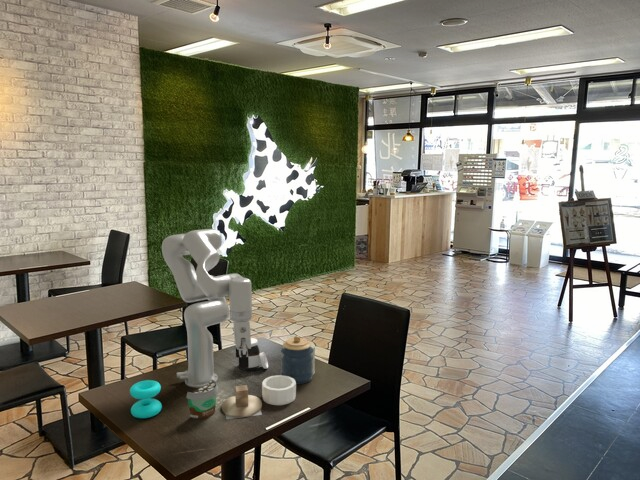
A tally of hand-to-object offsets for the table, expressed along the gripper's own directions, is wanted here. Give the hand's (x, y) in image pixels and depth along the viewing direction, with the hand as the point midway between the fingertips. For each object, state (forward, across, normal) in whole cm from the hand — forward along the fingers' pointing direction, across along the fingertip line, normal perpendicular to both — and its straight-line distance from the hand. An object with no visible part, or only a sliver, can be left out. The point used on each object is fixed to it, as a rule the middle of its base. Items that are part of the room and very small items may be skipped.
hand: (242, 362), depth 165 cm
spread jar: (+17, +34, -9) cm, 39 cm away
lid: (+17, +1, 0) cm, 17 cm away
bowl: (+17, +5, -14) cm, 22 cm away
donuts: (+17, +6, +32) cm, 37 cm away
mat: (+17, +1, 0) cm, 17 cm away
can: (+17, +24, -28) cm, 40 cm away
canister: (+17, +20, -24) cm, 35 cm away
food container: (+17, -1, +12) cm, 21 cm away
